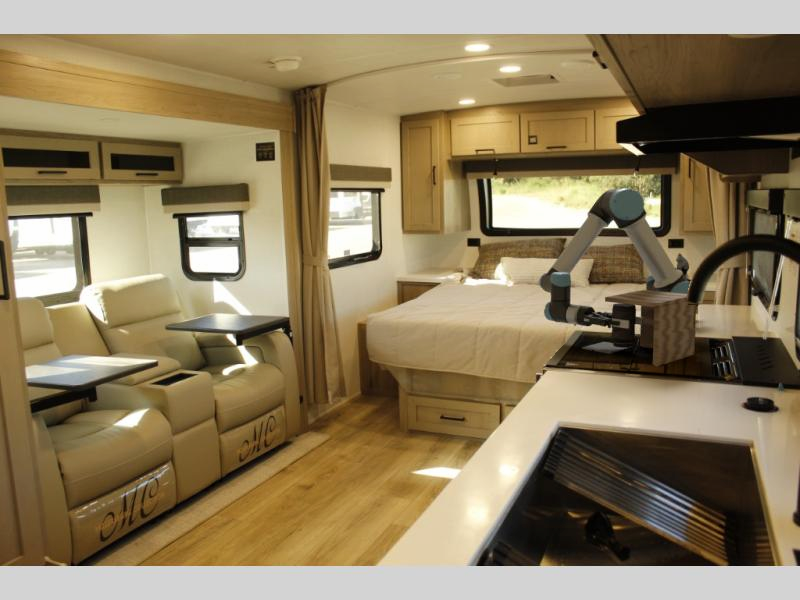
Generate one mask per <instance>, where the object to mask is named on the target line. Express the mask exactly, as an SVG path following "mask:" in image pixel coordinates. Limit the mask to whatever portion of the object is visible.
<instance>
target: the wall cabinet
mask: <svg viewBox="0 0 800 600" xmlns="http://www.w3.org/2000/svg"><path fill="white" fill-rule="evenodd" d="M604 302H606V303H613V304H619V303H622V304H631V305H635V306H640V317H643V325H640V328H639V329H640V331H639V333H640V335H639V337H640V339H639V347H640V346H641V348H646V349H652V348H653V349H652V366H653V365H655V366H654V367H659V366H658V365H660V366H663V365H667V364H669V362H670V363H673V362H675V361H678V360H682V359H684V358H688V357H690V356H693V355H695V345H696V344H695V342H696V321H697V320H696V319H697V318H696V316H697V315H696V314H697V304H696V305H688V303H687V294H683V293H672V292H661V291H651V290H646V289H643V290H642V289H640V290H636V291H631V292H626V293H620V294H616V295H610V296H605V297H604ZM662 364H663V365H662Z"/></svg>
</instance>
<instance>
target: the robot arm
mask: <svg viewBox="0 0 800 600" xmlns="http://www.w3.org/2000/svg"><path fill="white" fill-rule="evenodd" d="M644 200H645V199H644V198H643V195H641V194H640V193H639V191H637V190H636V189H633V188H628V187H622V188H612V189H611V188H610V189H608V190H605V192H603V193H602V194H601V195H600V196H599V197H598V199H597V200H596V201H595V202H594V204H593V205H592V207H591V208H590V209H589V210H588V211H587V213H586V214H587V217H586V219H585V221H584V222H583V223H582V224H581V226H580V227H579V229H578V230H577V232H576V233H574V235H573V237H572V238H571V239H570V242H569V243H568V244H567V245H566V247H565V248H564V249H563V251H562V252H561V253H560V255H559V256H558V258H557V259H556V261H554V263H553V264H552V266H551V267H550V268H549V269H548V271H547V272H546V273H544V274H541V276H540V278H539V280H538V281H539V286H540V288H541V289H542V290H543V291H544V292H547V293H550V301H548V302H547V303H546V304H545V306H544V309H543V314H544V317H545V318H546V320H548V321H551V322H555V323H562V324H563V323H564V324H570V325H573V326H574V327H576V326H581V327H583V326H584V327H590V326H592V325H595V326H600V327H607V329H612V327H611V325H612V326H614V327H621V328H629V325H630V321H629V320H621V319H614V318H613V319H612V312H608V311H603V312H601V311H595V309H594V307H593V306H589V305H588V306H587V305H581V304H573V303H572V304H571V291H572V290H571V288H572V287H571V286H572V280H571V273H572V271H573V270H574V269H575V267H577V264H578V263H579V262H580V260H581V259H582V257H583V256H584V255H585V254H586V252H587V251H588V249H589V248H590V247H591V246H592V244H593V243H594V241H595V240H596V239H597V238H598V236H599V235H600V233H602V231H603V229H604V228H608V227H609V226H610V224H611V223H612V222H614V223H615V225H616V227H617V228H618V229H619V230H621V231H622V230H623V231H624V232H625V234H626V235H627V236H628V239H630V241H631V243H632V245H633V247H634V248H635V249H636V252H637V253H638V254H639V256H640V258H641V260H642V261H643V263H644V265H645V266H646V268H647V269H648V271H649V273H650V274H649V275H647V276H646V282H645V285H646V287H645V290H651V291H661V292H672V293H683V294H688V288H689V284H690V282H689V281H688V280H687V279H686V277H685V276H684V274H683V272H682V271H681V270H677V269H675V268H676V267H675V265H674V264H673V262H672V260H671V259H670V257H669V256H668V254H667V252H666V250H665V249H664V247H663V246H662V244H661V242H660V241H659V239H658V238H657V236H656V233H654V231H653V229H652V228H651V225H650V224H649V223H648V221H647V219H646V217H647V213H648V212H647V211H646V210H645V209H646V208H645V207H644V206H645V201H644ZM635 325H638V326H641V325H643V317H641V316H637V315H636V320H635Z"/></svg>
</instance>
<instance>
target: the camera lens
mask: <svg viewBox="0 0 800 600" xmlns="http://www.w3.org/2000/svg"><path fill="white" fill-rule="evenodd" d="M636 306H637V305H631V304H623V303H613V304H612V308H611V309H612V310H611V313H612V319H613V318H614V319H621V320H629V321H630V325H629V328H621V327H614V326H612V325H611V342H612V343H613V346H615V347H620V348H628V347H632V348H633V347H634V342H635V338H636V324H635V320H636V316H637V307H636Z"/></svg>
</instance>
